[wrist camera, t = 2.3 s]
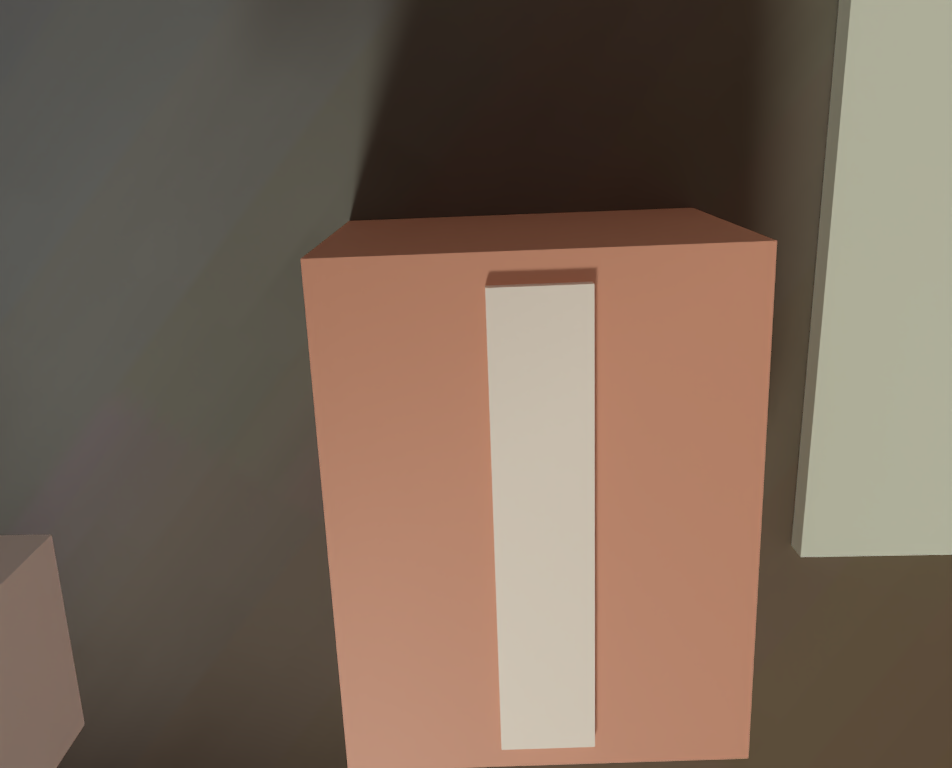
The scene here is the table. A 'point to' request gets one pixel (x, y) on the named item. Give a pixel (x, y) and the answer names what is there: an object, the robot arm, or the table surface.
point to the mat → (882, 294)
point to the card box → (542, 483)
